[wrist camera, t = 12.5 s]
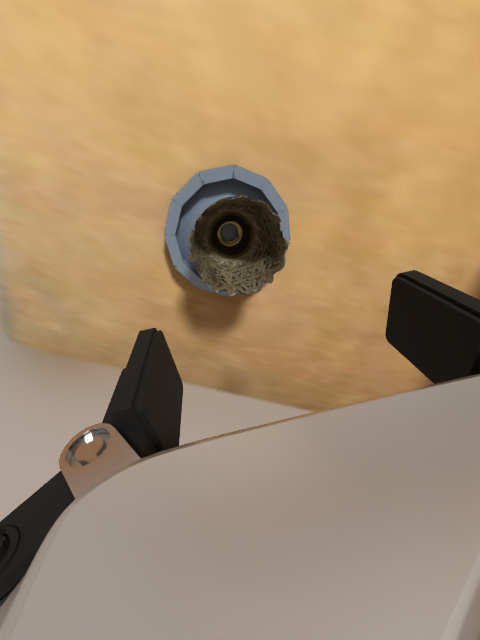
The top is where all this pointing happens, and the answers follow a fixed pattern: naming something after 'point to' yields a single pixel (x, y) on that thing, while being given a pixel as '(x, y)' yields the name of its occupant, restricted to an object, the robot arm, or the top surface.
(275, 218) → the cup
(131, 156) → the top surface
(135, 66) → the top surface
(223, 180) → the dish
